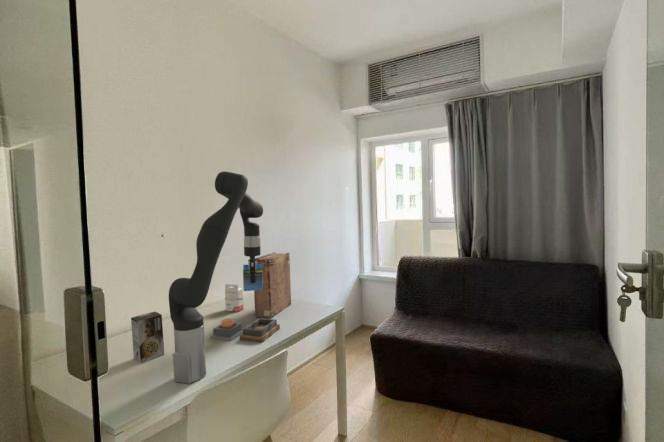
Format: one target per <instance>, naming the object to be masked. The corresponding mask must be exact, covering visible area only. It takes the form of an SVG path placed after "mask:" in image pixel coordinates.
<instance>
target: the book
mask: <svg viewBox="0 0 664 442" xmlns="http://www.w3.org/2000/svg"><path fill="white" fill-rule="evenodd" d="M255 259H257V264H262V273H263V290H253V293H254V294H253V295H254V296H253V297H254V298H253V299H254V317H255V318H262V319H273V318H274V317H276V315H278V314H279V313H281V312H283V311H284V310H285V309H287V308H288V307H289V306H291V305H292V292H291V291H292V289H291V267H290V266H291V265H290V261H291V260H290V252H285V253H276V251H274V252H270V253H267V254H265V255H261V256H257V257H255Z"/></svg>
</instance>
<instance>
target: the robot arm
mask: <svg viewBox="0 0 664 442" xmlns="http://www.w3.org/2000/svg"><path fill="white" fill-rule="evenodd" d="M248 186H249V180H248V177H247V176H246V175H244V174H240V173H236V172H230V171H220V172H219V173H217V175H216V177H215V179H214V188H215V191H216V192H217V193H218V194H219V195H222V196H223V197H224V198H226V199H227V201H226V202H225V204H224V205H223V206H222V207H221V208H220V209H218V210H216V212H214V213H212V214H211V215H210V216H208V218H206V219H205V220H204V222H203V224H202V226H201V227H200V230H199V233H198V235H197V237H196V245H195V247H196V264H195V267H194V270H193V272H192V275H191V277H190V278H189V277H188V278H187V277H179V278H177V279H175V280H173V282H172V283H171V285H170V286H169V289H168V304H169V313H170V314H169V316H170V319H171V322H172V324H173V336H174V337H173V338H174V352H173V353H172V362H173V363H172V364H173V381H174V382H175V383H181V384H182V383H183V384H189V385H190V384H192V383H194V382H196V381H197V382H198V381H200V380H201V379H203V378H205V376H206V374H207V369H206V368H207V366H206V347H205V328H204V326H205V325H204V323H205V322H204V317H203V315H202V314H201V313H200V312H199V311H198V310H197V308H198V307H200V306H201V305H202V304H203V303H204V301H206V298H207V297H208V294H209V289H210V287H211V282H212V278H213V275H214V273H215V268H216V266H217V263H218V260H219V257H220V255H221V251H222V249H223V247H224V244H225V243H226V239H227V237H228V235H229V232H230V230H231V226H232V223H233V220H234V218H235V216H236V213H237V211H238V209H239V215H240V217H241V220H242V221H241V222H242V224H243V235H244V237H243V253H244V254H243V255H244V256H245V257H249V259H248V261H247V262H248V264H247V265H249V270H250V282H251V283H255V274H256V272H255V270H256V264H257V259H255V258H256V257H260V255H261V236H260V224H259V223H257V222H253V221H251V220H250V219H258V218H260V217H262V216H263V215H264V208H263V205H262V204H261V203H260V202H259V201H258V200H256V199H253V198H252V197H251V195H250V194H249V193H247V190H248ZM251 270H254V272H251Z"/></svg>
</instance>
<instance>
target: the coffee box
mask: <svg viewBox="0 0 664 442" xmlns="http://www.w3.org/2000/svg"><path fill="white" fill-rule="evenodd" d="M130 321H131V336H132V352H133V360H135V361H137V362H138V363H140V364H141V363H144V362H147V361H150V360H152V359H156V358H158V357H161V356H163V355H165V344H164V331H163V330H164V327H163V315H162V314H161V313H159V312H157V311H152V312H148V313H144V314H140V315H136V316H132V317H131V318H130Z"/></svg>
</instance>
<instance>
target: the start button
mask: <svg viewBox="0 0 664 442" xmlns="http://www.w3.org/2000/svg"><path fill="white" fill-rule="evenodd" d="M220 322H221V325H222V328H227V329H230V328H232V327H233V326H234V323H235V322H234V318H231V317H230V318H223V319H222V320H221V321H220Z"/></svg>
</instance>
